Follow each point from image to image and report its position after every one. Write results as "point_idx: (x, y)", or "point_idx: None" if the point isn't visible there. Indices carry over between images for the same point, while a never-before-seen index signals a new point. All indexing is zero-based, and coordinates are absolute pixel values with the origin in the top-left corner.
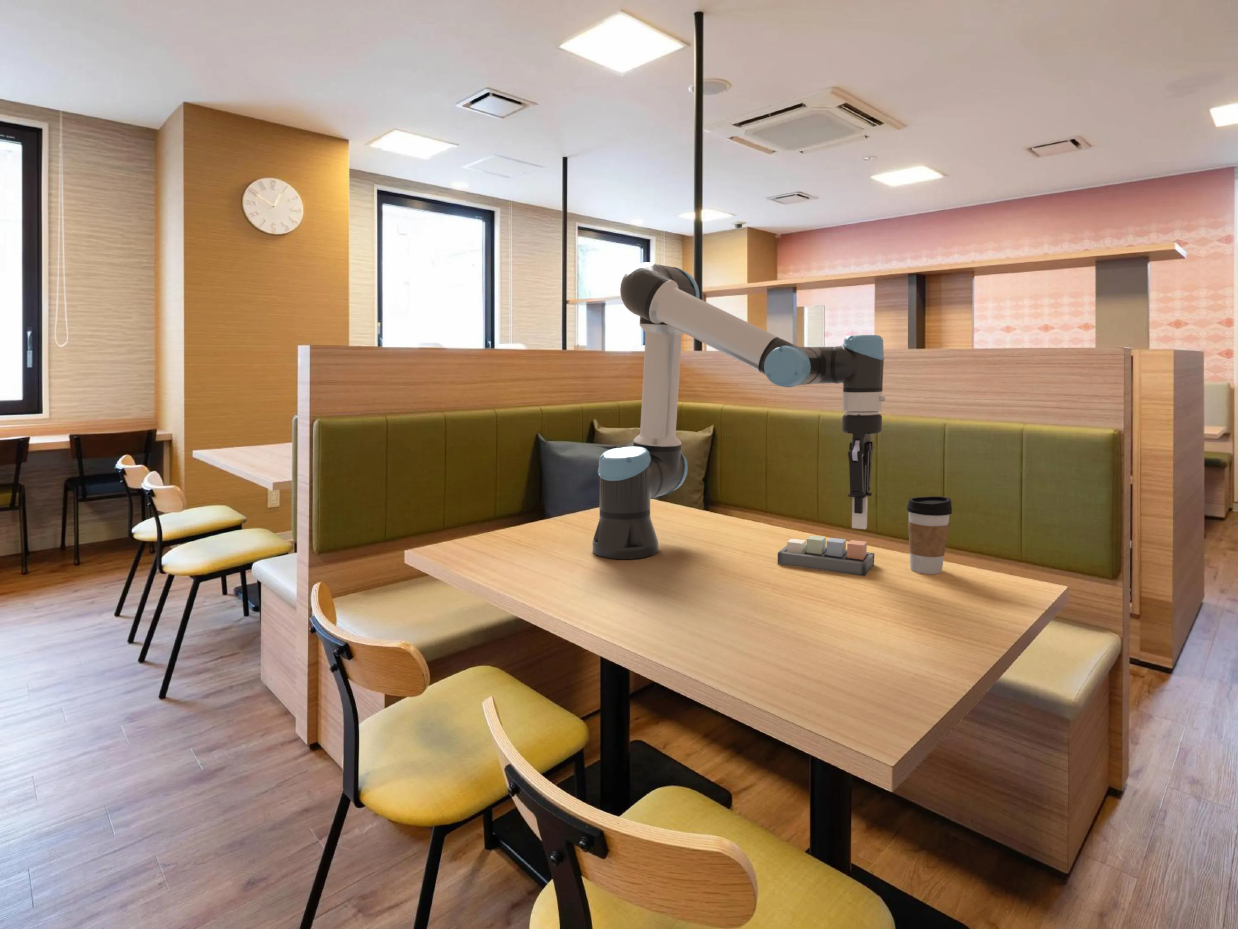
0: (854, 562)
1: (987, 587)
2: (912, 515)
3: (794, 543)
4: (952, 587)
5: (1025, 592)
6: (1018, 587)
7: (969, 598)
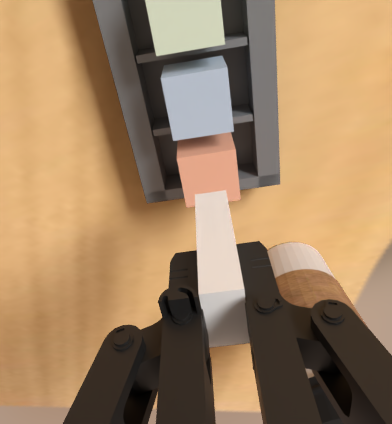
0: (140, 174)
1: (230, 356)
2: None
3: None
4: None
5: (236, 389)
6: None
7: None
